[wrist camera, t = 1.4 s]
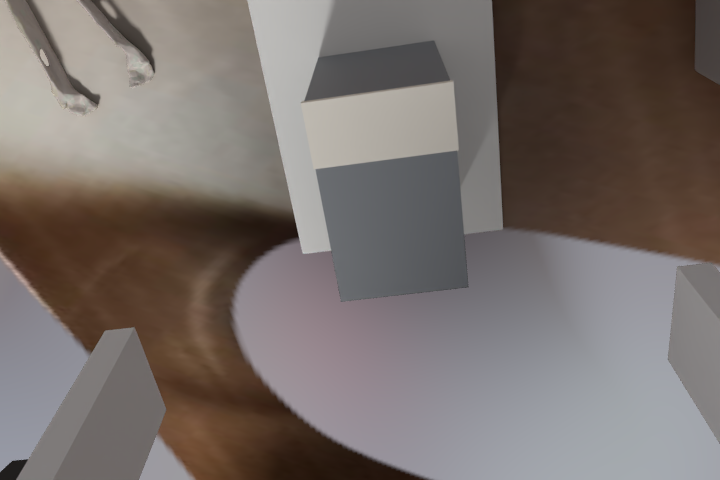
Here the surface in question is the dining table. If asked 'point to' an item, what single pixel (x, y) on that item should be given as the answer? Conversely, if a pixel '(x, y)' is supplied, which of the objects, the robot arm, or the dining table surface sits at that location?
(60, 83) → the tweezers
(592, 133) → the dining table surface
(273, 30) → the flat white strip
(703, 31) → the lighter
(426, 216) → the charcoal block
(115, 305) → the dining table surface
